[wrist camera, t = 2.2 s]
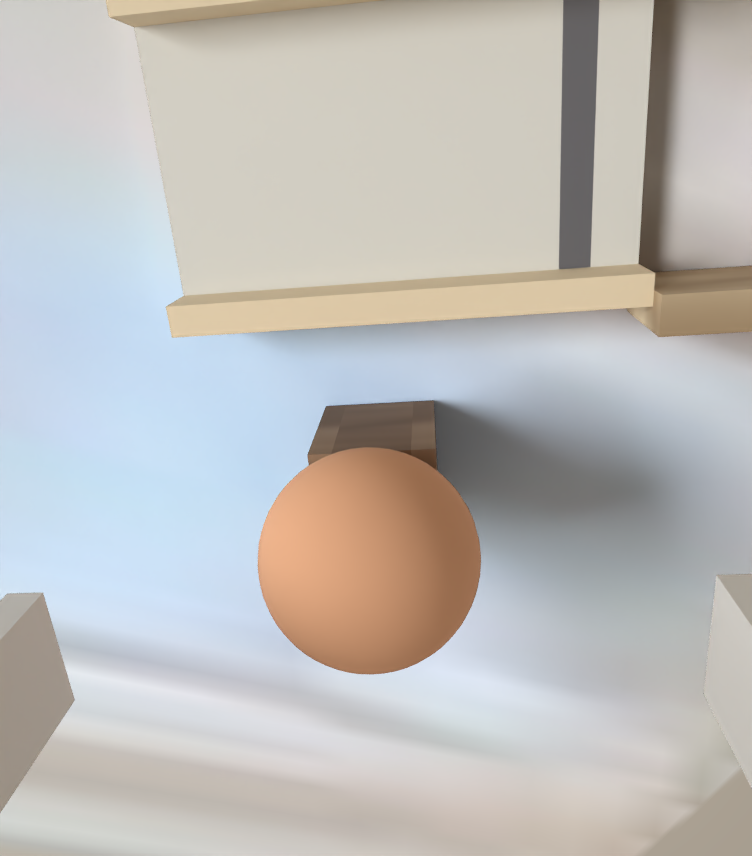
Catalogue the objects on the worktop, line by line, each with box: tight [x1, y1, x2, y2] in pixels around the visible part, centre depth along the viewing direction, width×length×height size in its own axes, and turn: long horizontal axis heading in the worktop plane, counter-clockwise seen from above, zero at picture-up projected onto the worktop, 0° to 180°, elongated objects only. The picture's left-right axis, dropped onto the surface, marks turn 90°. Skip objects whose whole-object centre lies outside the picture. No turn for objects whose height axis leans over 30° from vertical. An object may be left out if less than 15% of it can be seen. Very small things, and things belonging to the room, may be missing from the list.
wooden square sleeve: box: [308, 401, 437, 470], centre depth 19 cm, size 3×3×4 cm
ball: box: [258, 447, 481, 674], centre depth 16 cm, size 5×5×5 cm
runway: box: [106, 0, 655, 338], centre depth 17 cm, size 8×12×2 cm, turn 95°
